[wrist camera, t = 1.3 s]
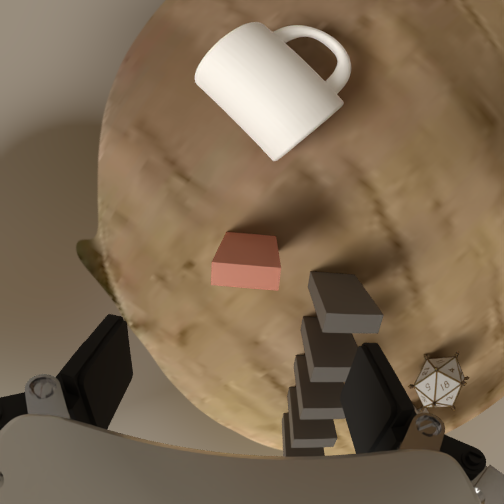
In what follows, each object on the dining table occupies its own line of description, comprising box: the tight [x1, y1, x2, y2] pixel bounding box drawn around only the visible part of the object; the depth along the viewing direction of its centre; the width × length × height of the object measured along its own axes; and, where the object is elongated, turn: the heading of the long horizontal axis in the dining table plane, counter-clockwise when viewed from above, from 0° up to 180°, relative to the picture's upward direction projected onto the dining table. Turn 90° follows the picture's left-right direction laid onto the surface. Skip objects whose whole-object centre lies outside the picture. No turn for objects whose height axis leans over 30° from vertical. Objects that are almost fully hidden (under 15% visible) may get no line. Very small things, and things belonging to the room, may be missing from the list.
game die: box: [408, 351, 469, 411], centre depth 31 cm, size 9×8×10 cm
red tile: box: [211, 232, 281, 290], centre depth 26 cm, size 5×2×9 cm, turn 86°
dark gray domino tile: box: [301, 317, 358, 382], centre depth 29 cm, size 5×2×9 cm, turn 86°
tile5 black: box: [287, 387, 337, 448], centre depth 32 cm, size 5×2×9 cm, turn 86°
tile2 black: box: [308, 271, 383, 333], centre depth 27 cm, size 5×2×9 cm, turn 86°
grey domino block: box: [282, 413, 325, 457], centre depth 34 cm, size 5×2×9 cm, turn 86°
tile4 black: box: [294, 355, 345, 419], centre depth 30 cm, size 5×2×9 cm, turn 86°
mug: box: [195, 22, 351, 161], centre depth 22 cm, size 12×10×8 cm
